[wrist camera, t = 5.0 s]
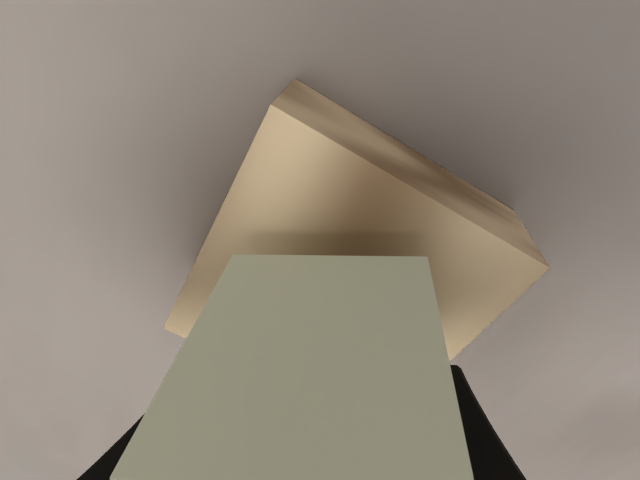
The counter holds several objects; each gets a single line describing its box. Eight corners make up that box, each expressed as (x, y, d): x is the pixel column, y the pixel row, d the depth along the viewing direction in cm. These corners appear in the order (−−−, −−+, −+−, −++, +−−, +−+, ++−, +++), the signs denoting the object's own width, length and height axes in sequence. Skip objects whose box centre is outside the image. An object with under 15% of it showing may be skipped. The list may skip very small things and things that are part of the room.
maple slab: (511, 207, 15) (550, 268, 12) (376, 352, 20) (377, 428, 16) (296, 76, 14) (270, 104, 11) (202, 265, 18) (163, 328, 15)
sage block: (427, 256, 10) (480, 508, 5) (416, 395, 13) (444, 660, 8) (232, 254, 11) (109, 477, 6) (257, 387, 14) (184, 627, 8)
